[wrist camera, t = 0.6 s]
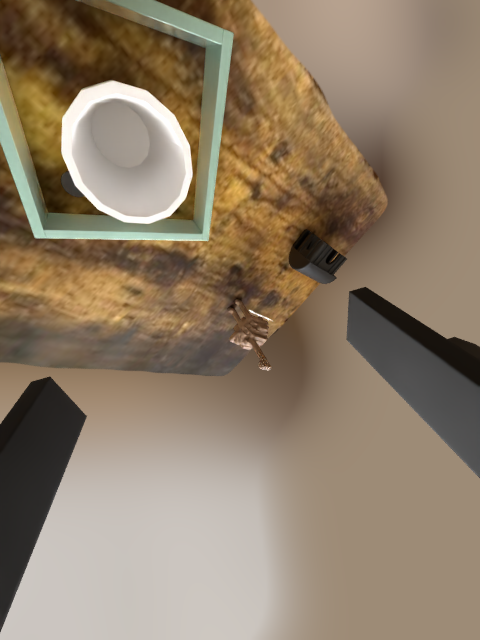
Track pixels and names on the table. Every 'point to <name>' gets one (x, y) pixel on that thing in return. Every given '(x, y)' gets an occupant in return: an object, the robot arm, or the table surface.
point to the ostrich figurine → (250, 332)
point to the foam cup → (126, 152)
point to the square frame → (142, 8)
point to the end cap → (315, 258)
